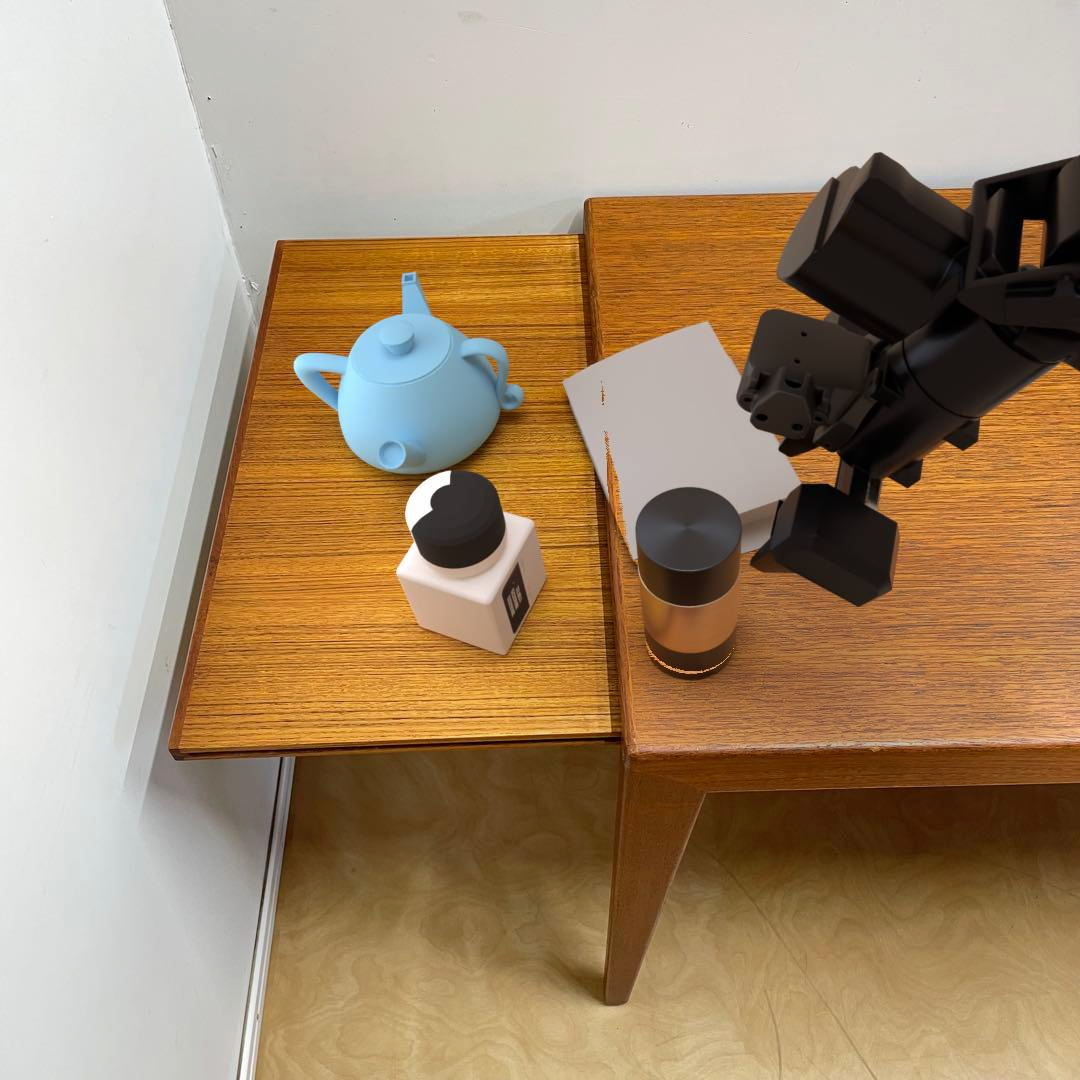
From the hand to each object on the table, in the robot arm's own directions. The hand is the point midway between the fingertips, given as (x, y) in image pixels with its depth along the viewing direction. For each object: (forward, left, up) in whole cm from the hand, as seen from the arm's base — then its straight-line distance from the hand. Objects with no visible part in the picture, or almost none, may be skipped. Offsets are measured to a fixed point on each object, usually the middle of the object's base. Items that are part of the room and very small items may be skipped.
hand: (770, 507), depth 62 cm
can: (+1, +5, -14) cm, 15 cm away
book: (+17, -4, -14) cm, 23 cm away
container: (+12, +17, -14) cm, 26 cm away
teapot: (+32, +14, -14) cm, 38 cm away
